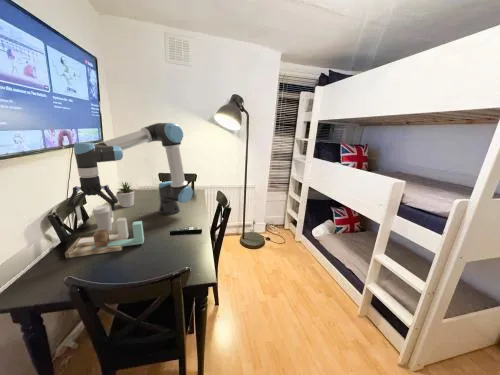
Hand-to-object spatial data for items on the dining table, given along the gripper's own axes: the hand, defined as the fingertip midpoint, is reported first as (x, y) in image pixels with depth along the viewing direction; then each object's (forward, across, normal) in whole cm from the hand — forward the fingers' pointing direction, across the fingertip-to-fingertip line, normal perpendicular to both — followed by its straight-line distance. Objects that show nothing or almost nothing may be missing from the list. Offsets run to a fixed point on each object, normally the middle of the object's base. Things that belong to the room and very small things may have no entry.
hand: (96, 218), depth 105 cm
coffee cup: (+17, +4, -23) cm, 29 cm away
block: (+15, -1, 0) cm, 15 cm away
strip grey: (+16, +1, -8) cm, 18 cm away
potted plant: (+17, 0, -68) cm, 70 cm away
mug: (+17, +7, -33) cm, 38 cm away
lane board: (+17, +1, -4) cm, 18 cm away
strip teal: (+16, -8, 0) cm, 18 cm away
